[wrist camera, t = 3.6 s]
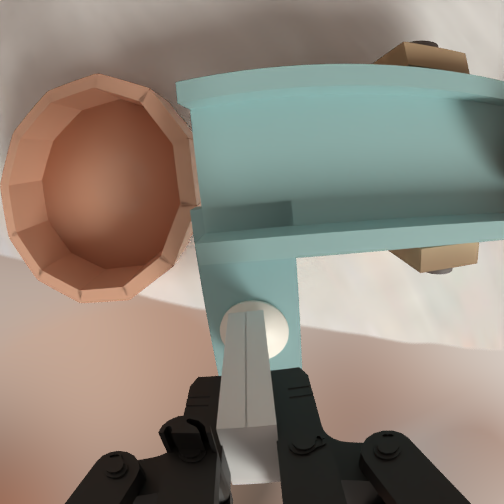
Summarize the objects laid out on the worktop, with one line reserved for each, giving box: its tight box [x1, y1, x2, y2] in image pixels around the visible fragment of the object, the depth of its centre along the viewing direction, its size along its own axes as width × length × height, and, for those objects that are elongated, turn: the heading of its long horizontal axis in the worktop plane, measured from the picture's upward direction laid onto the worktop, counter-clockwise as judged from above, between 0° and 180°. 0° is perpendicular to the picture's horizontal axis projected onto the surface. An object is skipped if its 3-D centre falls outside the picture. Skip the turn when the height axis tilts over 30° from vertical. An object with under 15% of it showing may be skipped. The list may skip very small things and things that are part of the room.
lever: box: [176, 64, 504, 376], centre depth 11 cm, size 14×20×3 cm
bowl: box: [0, 73, 201, 303], centre depth 17 cm, size 13×13×4 cm
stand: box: [373, 41, 479, 274], centre depth 15 cm, size 11×12×9 cm
